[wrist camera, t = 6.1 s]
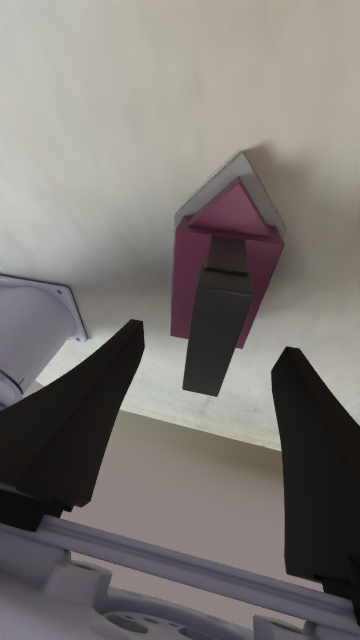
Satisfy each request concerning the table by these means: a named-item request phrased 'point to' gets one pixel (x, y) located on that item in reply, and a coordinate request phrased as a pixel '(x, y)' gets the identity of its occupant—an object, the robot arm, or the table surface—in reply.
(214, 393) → the iron
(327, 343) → the table surface
